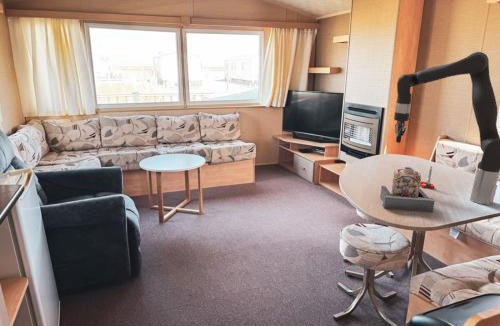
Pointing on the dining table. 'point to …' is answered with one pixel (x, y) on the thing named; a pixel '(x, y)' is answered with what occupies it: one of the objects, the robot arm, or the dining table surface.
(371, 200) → the dining table surface
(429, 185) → the tow hook
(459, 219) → the dining table surface
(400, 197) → the grey tray
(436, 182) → the dining table surface
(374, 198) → the dining table surface
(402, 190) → the decorative jar
